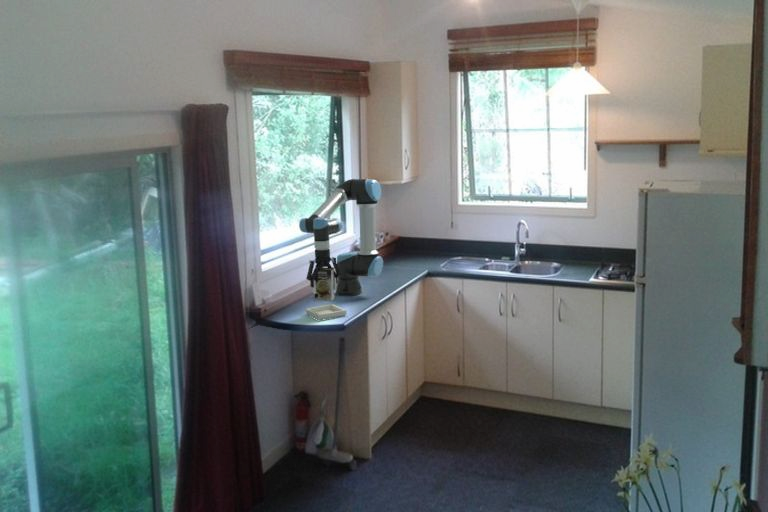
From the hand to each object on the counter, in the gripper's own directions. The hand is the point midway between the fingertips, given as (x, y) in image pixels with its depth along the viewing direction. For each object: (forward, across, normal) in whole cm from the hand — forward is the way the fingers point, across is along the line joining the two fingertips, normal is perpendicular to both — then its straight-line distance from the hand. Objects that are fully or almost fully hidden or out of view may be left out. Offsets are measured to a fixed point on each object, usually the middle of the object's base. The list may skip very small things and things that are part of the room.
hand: (324, 291), depth 376 cm
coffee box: (+4, 0, 0) cm, 4 cm away
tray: (+12, 0, 0) cm, 12 cm away
